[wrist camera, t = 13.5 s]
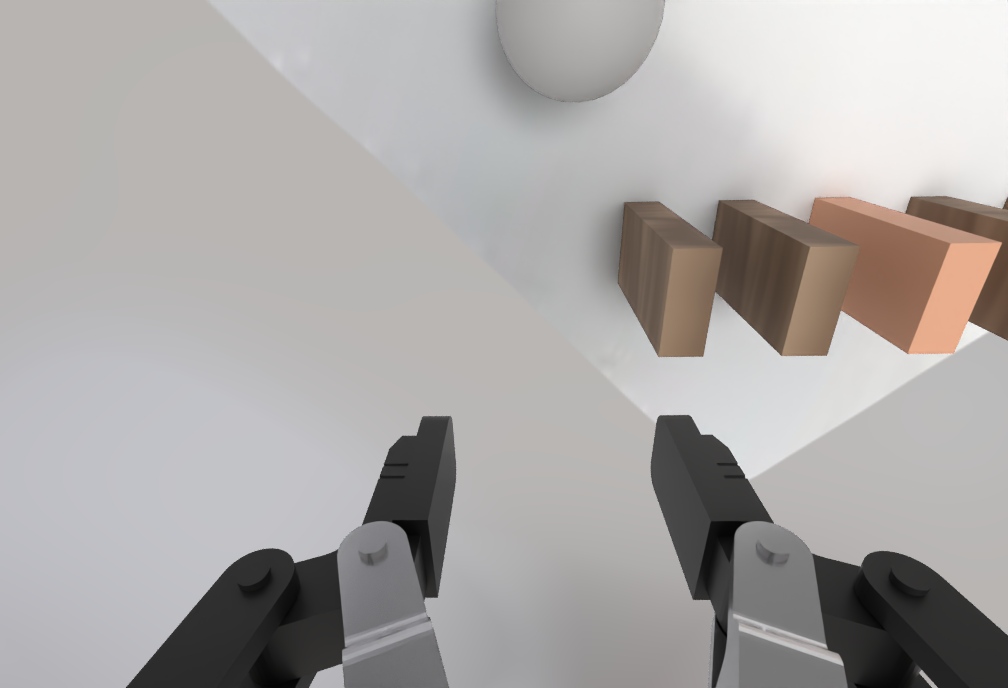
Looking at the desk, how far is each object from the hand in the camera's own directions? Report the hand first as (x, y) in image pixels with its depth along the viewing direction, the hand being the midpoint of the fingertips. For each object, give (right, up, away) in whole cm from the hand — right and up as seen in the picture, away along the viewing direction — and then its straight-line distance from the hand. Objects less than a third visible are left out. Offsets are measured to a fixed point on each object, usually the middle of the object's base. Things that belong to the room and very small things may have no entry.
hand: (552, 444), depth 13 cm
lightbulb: (+2, +19, +13) cm, 23 cm away
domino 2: (+12, +9, +17) cm, 23 cm away
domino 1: (+7, +9, +17) cm, 21 cm away
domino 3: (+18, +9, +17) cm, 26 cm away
